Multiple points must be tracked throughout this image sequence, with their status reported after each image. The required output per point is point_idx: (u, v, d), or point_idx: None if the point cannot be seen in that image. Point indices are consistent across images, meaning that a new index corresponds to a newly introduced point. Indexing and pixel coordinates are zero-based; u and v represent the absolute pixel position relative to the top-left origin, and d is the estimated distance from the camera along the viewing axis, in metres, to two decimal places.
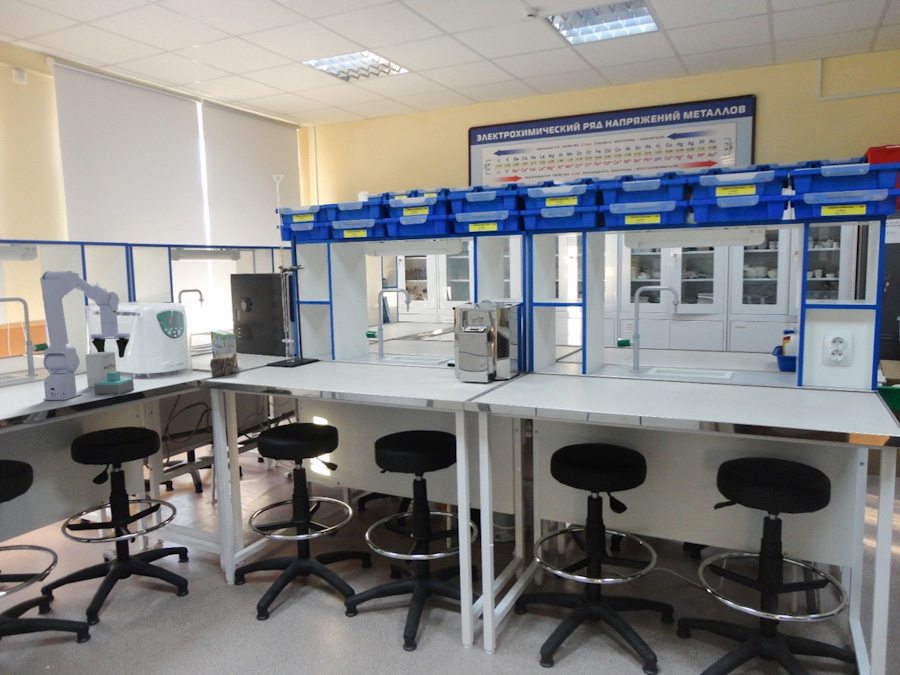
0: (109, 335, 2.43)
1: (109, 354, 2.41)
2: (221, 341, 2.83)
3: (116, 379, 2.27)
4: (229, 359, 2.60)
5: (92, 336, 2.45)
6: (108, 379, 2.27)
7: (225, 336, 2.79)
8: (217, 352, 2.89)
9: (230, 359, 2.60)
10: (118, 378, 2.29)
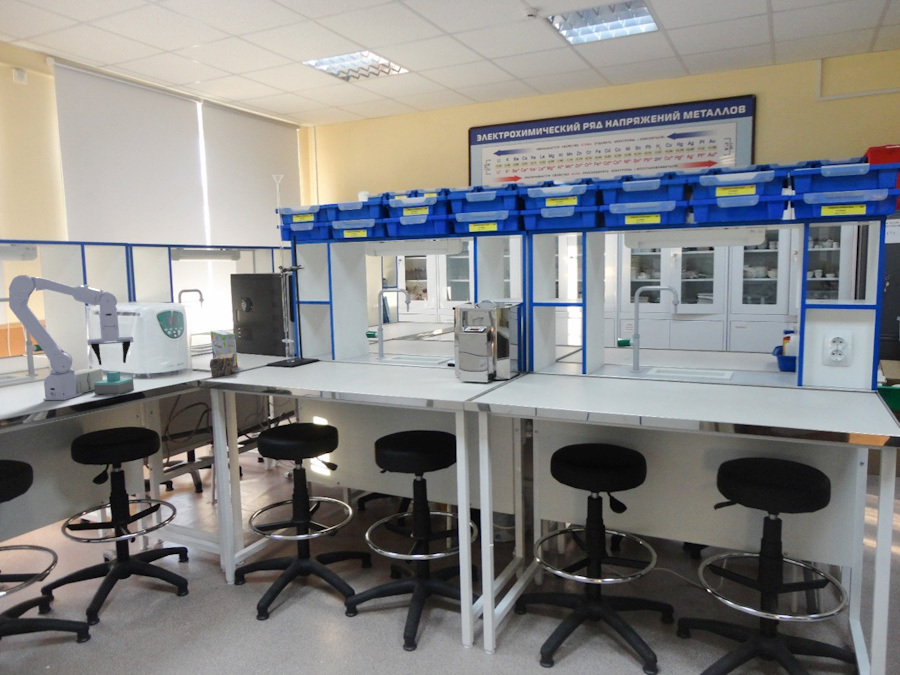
0: (114, 339, 2.25)
1: (79, 382, 2.26)
2: (221, 341, 2.83)
3: (116, 379, 2.27)
4: (229, 359, 2.60)
5: (89, 342, 2.23)
6: (108, 379, 2.27)
7: (225, 336, 2.79)
8: (217, 352, 2.89)
9: (230, 359, 2.60)
10: (118, 378, 2.29)
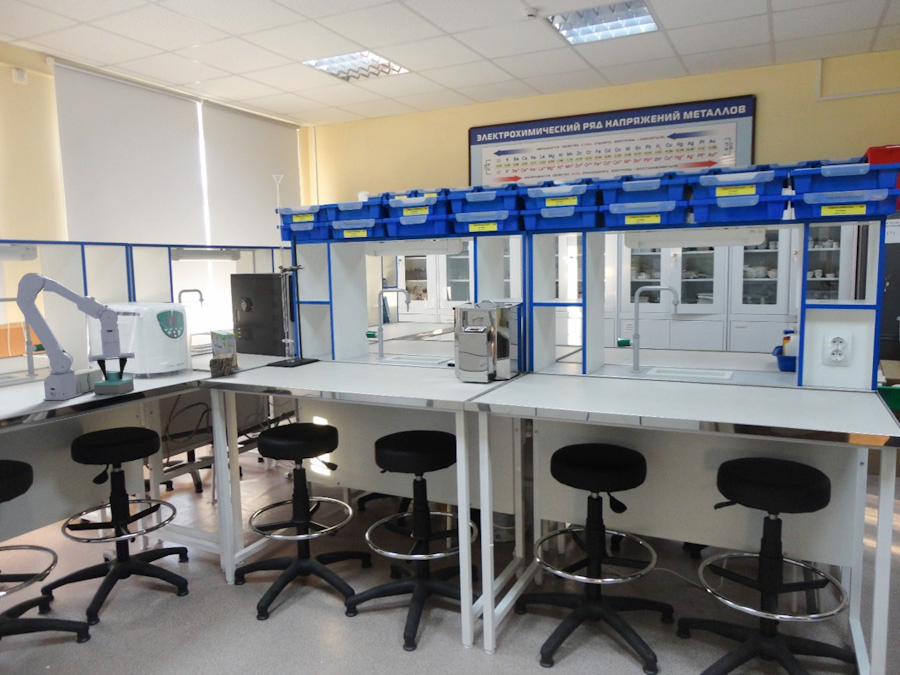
0: (116, 355, 2.26)
1: (79, 382, 2.26)
2: (221, 341, 2.83)
3: (116, 379, 2.27)
4: (228, 359, 2.60)
5: (91, 358, 2.23)
6: (108, 379, 2.27)
7: (225, 336, 2.79)
8: (217, 352, 2.89)
9: (229, 359, 2.60)
10: (118, 378, 2.29)
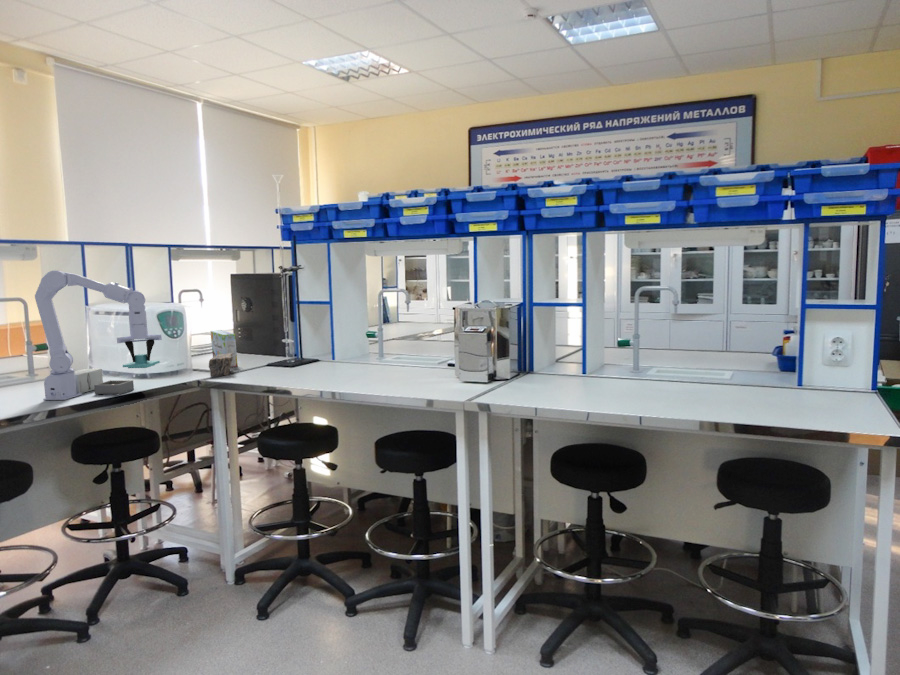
0: (143, 337, 2.29)
1: (79, 382, 2.26)
2: (221, 341, 2.83)
3: (144, 361, 2.31)
4: (228, 359, 2.59)
5: (119, 340, 2.26)
6: (136, 361, 2.30)
7: (225, 336, 2.79)
8: (217, 352, 2.89)
9: (229, 359, 2.60)
10: (145, 360, 2.32)
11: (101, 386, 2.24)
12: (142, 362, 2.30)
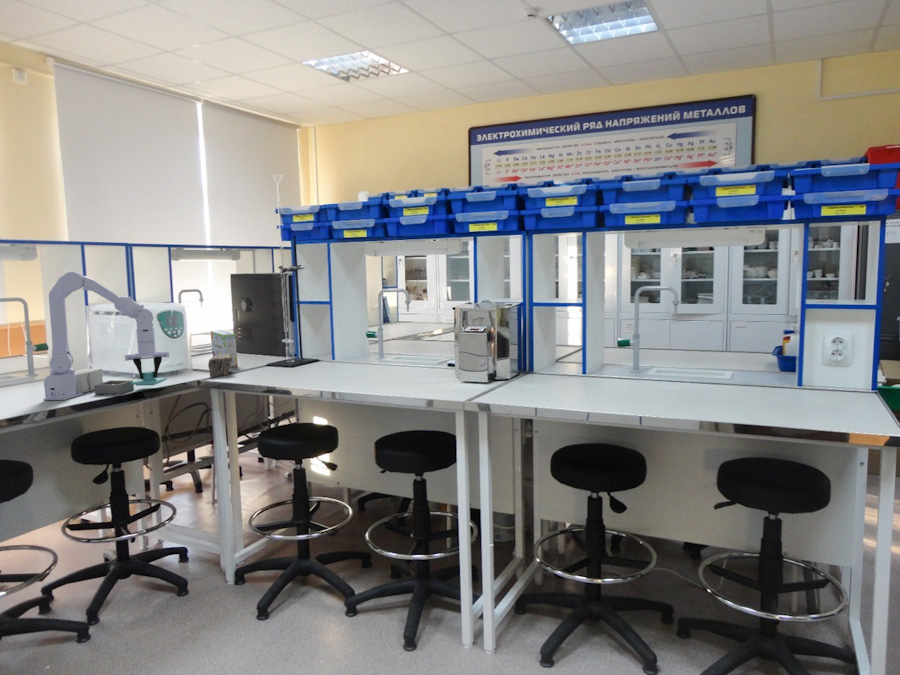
0: (151, 354, 2.30)
1: (79, 382, 2.26)
2: (221, 341, 2.83)
3: (152, 379, 2.32)
4: (227, 359, 2.59)
5: (127, 357, 2.28)
6: (144, 379, 2.31)
7: (225, 336, 2.79)
8: (217, 352, 2.89)
9: (228, 359, 2.60)
10: (153, 378, 2.33)
11: (101, 386, 2.24)
12: (150, 379, 2.31)
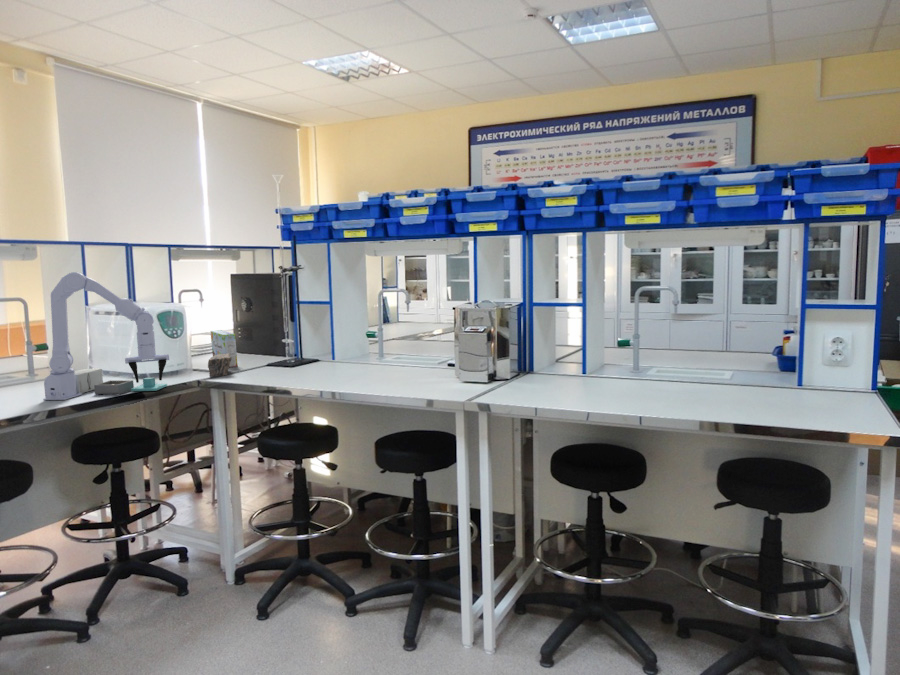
0: (151, 357, 2.30)
1: (79, 382, 2.26)
2: (221, 341, 2.83)
3: (152, 385, 2.33)
4: (227, 359, 2.59)
5: (127, 360, 2.28)
6: (144, 385, 2.32)
7: (225, 336, 2.79)
8: (217, 352, 2.89)
9: (228, 359, 2.60)
10: (154, 384, 2.34)
11: (101, 386, 2.24)
12: (150, 386, 2.32)
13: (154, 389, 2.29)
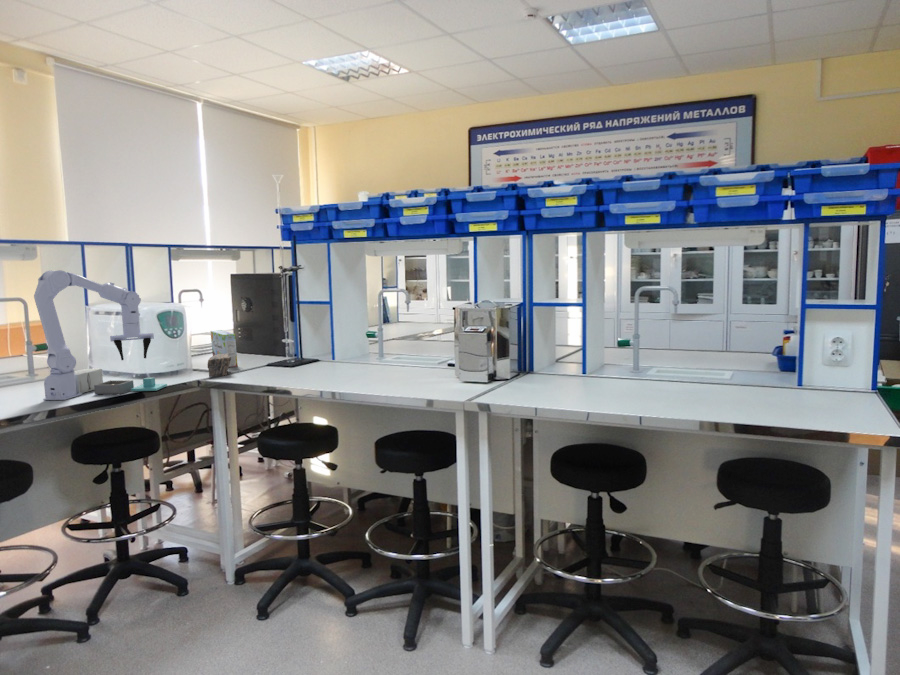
0: (136, 335, 2.36)
1: (79, 382, 2.26)
2: (221, 341, 2.83)
3: (152, 385, 2.33)
4: (227, 359, 2.59)
5: (112, 338, 2.34)
6: (144, 385, 2.32)
7: (225, 336, 2.79)
8: (217, 352, 2.89)
9: (228, 359, 2.59)
10: (154, 384, 2.34)
11: (101, 386, 2.24)
12: (150, 386, 2.32)
13: (154, 389, 2.29)
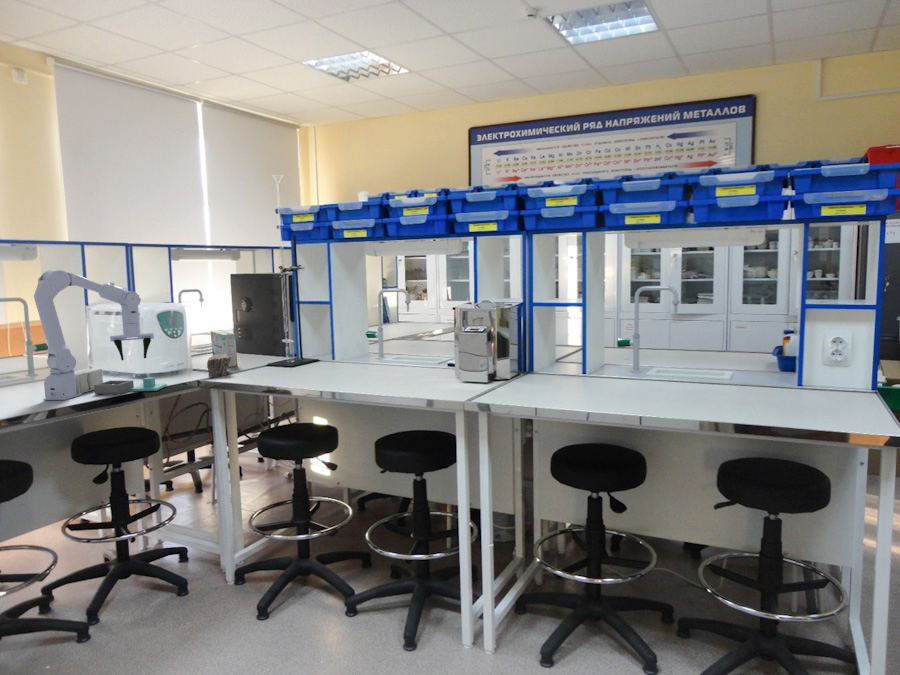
0: (136, 335, 2.36)
1: (79, 382, 2.26)
2: (221, 341, 2.83)
3: (152, 385, 2.33)
4: (226, 359, 2.59)
5: (112, 338, 2.34)
6: (144, 385, 2.32)
7: (225, 336, 2.79)
8: (217, 352, 2.89)
9: (227, 359, 2.59)
10: (154, 384, 2.34)
11: (101, 386, 2.24)
12: (150, 386, 2.32)
13: (154, 389, 2.29)
